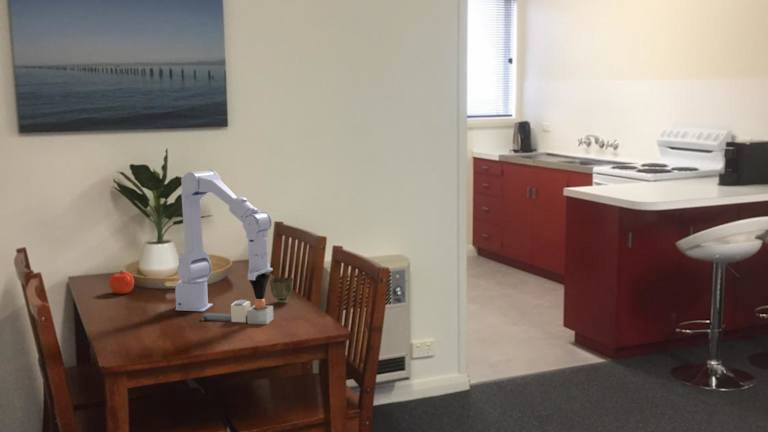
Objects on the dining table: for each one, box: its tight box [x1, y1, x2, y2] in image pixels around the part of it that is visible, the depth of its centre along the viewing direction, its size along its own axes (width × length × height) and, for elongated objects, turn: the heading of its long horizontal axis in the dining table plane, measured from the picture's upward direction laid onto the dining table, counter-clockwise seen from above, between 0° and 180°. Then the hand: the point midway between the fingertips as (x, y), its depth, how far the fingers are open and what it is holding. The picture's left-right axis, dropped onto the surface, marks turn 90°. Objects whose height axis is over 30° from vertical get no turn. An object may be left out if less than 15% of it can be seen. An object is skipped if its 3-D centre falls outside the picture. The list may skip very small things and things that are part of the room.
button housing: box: [247, 304, 274, 325], centre depth 238 cm, size 6×6×4 cm
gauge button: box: [254, 298, 266, 308], centre depth 238 cm, size 3×3×2 cm
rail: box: [200, 312, 248, 323], centre depth 240 cm, size 14×4×2 cm, turn 80°
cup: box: [269, 276, 294, 305], centre depth 258 cm, size 8×7×8 cm
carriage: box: [230, 299, 251, 323], centre depth 239 cm, size 4×5×6 cm
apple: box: [108, 270, 135, 295], centre depth 273 cm, size 8×8×8 cm
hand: (259, 298), depth 238 cm, fingers closed
